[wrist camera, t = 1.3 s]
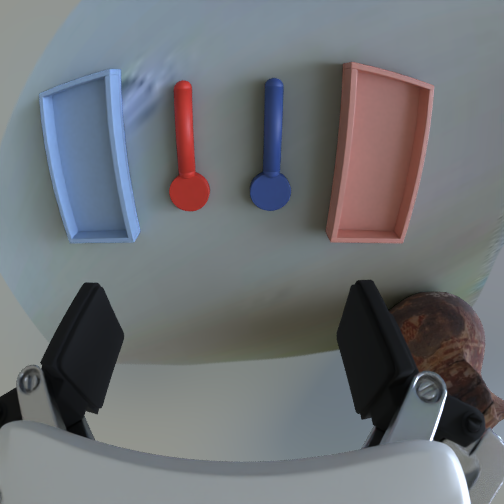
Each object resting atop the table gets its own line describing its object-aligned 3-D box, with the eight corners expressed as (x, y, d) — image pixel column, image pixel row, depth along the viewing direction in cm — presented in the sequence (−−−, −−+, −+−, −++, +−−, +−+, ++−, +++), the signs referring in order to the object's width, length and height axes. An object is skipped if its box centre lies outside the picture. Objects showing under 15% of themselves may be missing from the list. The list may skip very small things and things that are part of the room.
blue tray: (51, 91, 19) (38, 93, 17) (120, 69, 19) (110, 68, 17) (78, 233, 29) (69, 243, 27) (140, 231, 29) (133, 242, 27)
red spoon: (163, 83, 20) (158, 83, 19) (206, 78, 20) (203, 78, 19) (173, 208, 28) (170, 215, 26) (210, 207, 28) (209, 214, 26)
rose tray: (342, 63, 19) (351, 61, 17) (422, 84, 19) (434, 85, 18) (325, 231, 29) (330, 242, 28) (394, 233, 30) (402, 243, 28)
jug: (469, 303, 38) (524, 407, 18) (391, 366, 48) (421, 470, 27) (427, 247, 31) (524, 404, 10) (324, 337, 40) (354, 491, 20)
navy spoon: (251, 77, 20) (251, 76, 19) (295, 79, 20) (298, 79, 19) (249, 207, 28) (249, 213, 26) (288, 207, 28) (290, 214, 26)
